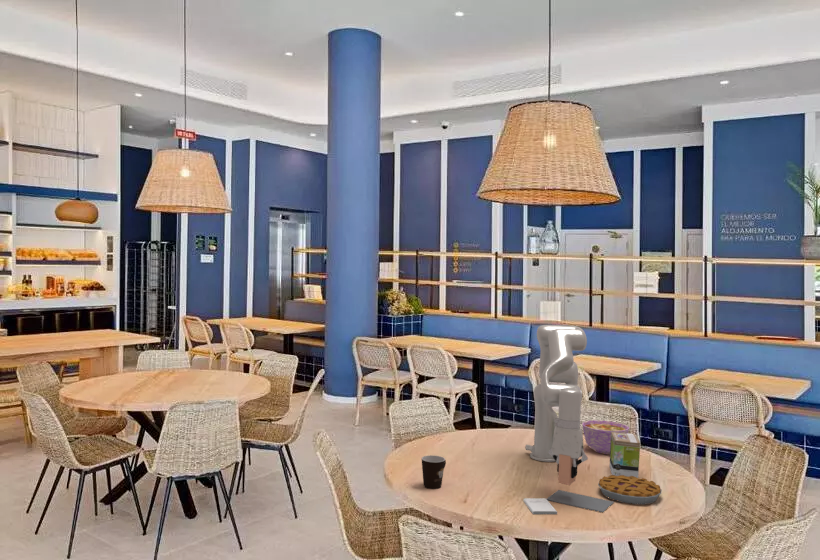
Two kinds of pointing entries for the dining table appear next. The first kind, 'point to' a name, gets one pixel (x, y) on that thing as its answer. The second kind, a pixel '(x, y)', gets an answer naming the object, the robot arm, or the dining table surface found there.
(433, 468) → the coffee mug
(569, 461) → the block
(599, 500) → the mat
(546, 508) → the external hard drive
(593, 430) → the bowl of food
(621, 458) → the tea box
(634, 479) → the pie
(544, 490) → the dining table surface
